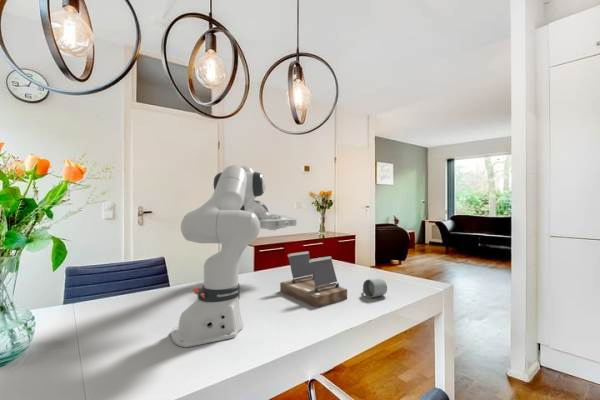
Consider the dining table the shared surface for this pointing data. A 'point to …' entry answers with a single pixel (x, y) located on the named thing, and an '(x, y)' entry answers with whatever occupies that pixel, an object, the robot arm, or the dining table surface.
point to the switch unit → (313, 291)
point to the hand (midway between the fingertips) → (286, 223)
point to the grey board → (300, 264)
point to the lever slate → (323, 271)
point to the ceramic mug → (374, 287)
